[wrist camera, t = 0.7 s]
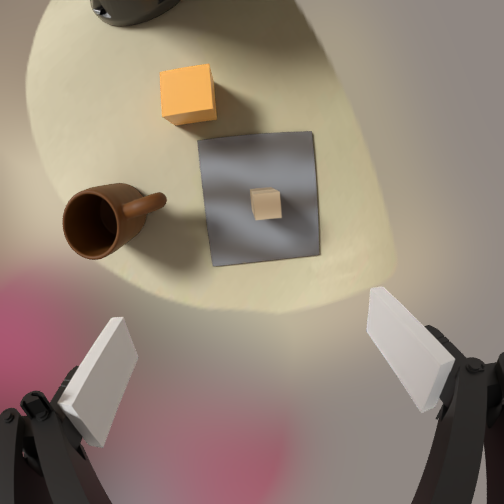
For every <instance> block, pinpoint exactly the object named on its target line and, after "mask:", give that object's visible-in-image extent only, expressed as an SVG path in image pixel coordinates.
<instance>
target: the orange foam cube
mask: <svg viewBox="0 0 504 504" xmlns="http://www.w3.org/2000/svg"><path fill="white" fill-rule="evenodd" d="M160 89H161V106H162V117H163V118H165V119H166V120H168V121H169V122H171V123H172V124H174V125H175V126H177V125H183V124H189V123H196V122H203V121H210V120H217V112H216V101H215V90H214V81H213V77H212V73H211V69H210V65H209V64H203V65H196V66H190V67H184V68H178V69H173V70H168V71H163V72H160Z"/></svg>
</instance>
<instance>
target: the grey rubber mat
mask: <svg viewBox="0 0 504 504" xmlns="http://www.w3.org/2000/svg"><path fill="white" fill-rule="evenodd" d="M197 142H198V152H199V161H200V170H201V179H202V188H203V197H204V205H205V213H206V221H207V228H208V236H209V243H210V250H211V257H212V264H213V266H221V265H230V264H240V263H249V262H258V261H267V260H277V259H286V258H295V257H304V256H312V255H319V230H318V207H317V190H316V175H315V162H314V150H313V139H312V131H304V132H280V133H264V134H251V135H240V136H230V137H221V138H213V139H205V140H198V141H197Z"/></svg>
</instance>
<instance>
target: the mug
mask: <svg viewBox="0 0 504 504" xmlns="http://www.w3.org/2000/svg"><path fill="white" fill-rule="evenodd" d="M166 202H167V199H166V196H165V195H164V194H163V193H160V192H159V193H154V194H151V195H148V196H145V197H142V195H141V194H140V192H139V191H138V190H137V189H135V188H134V187H132V186H130V185H128V184H123V183H116V184H109V185H103V186H97V187H92V188H89V189H86V190H83V191H81V192H79V193H77V194H75V195H74V196H73V197H72V198H71V199H70V201H69V202H68V204H67V205H66V208H65V210H64V214H63V231H64V235H65V237H66V240H67V242H68V244H69V245H70V247H71V248H72V249H73V250H74V251H75V252H76V253H77V254H79V255H80V256H82V257H84V258H87V259H92V260H97V259H102V258H104V257H106V256H108V255H110V254H112V253H113V252H115V251H116V250H118V249H119V248H120V247H122V246H123V245H124V244H126V243H127V242H128V241H129V240H131V239H132V238H133V237H135V236H136V235H137V234H138V233H139V232H140V231H141V229H142V227H143V226H144V223H145V220H146V215H147V214H148V213H151V212H153V211H156V210H159V209H161V208H162V207H164V206H165V204H166Z"/></svg>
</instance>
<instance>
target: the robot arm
mask: <svg viewBox="0 0 504 504" xmlns="http://www.w3.org/2000/svg"><path fill="white" fill-rule="evenodd" d="M179 1H180V0H90V3H91V7H92V9H93V11H94V13H95V14H96V15H97V16H98V17H99V18H100V19H101V20H102V21H103V22H105V23H107V24H110V25H115V26H128V25H134V24H139V23H142V22H145V21H148V20H150V19H153V18H155V17H157V16H159V15H161V14H163V13H164V12H166V11H168V10H169V9H171V8H172V7H173V6H175V5H176V4H177V3H178V2H179ZM366 331H367V333H368V334H369V336H370V337H371V338H372V340H373V341H374V343H375V344H376V346H377V347H378V349H379V350H380V352H381V353H382V354H383V356H384V357H385V359H386V360H387V362H388V363H389V365H390V366H391V368H392V369H393V371H394V372H395V374H396V375H397V377H398V378H399V380H400V381H401V383H402V384H403V386H404V387H405V389H406V390H407V392H408V394H409V395H410V397H411V398H412V400H413V401H414V403H415V405H416V406H417V408H418V409H419V411H420V413H422V412H425V411H427V410H429V409H432V408H434V407H435V406H436V404H437V402H438V400H439V398H440V399H441V400H442V402H443V405H442V407H441V409H440V411H439V413H438V415H437V417H436V419H438V418H439V420H438V424H437V428H436V432H435V436H434V440H433V444H432V447H431V450H430V454H429V457H428V460H427V463H426V466H425V469H424V472H423V475H422V478H421V480H420V483H419V486H418V489H417V491H416V494H415V496H414V498H413V501H412V503H411V504H471V503H472V499H473V495H474V491H475V487H476V483H477V479H478V474H479V469H480V463H481V458H482V451H483V444H484V449H485V459H486V475H487V504H504V352H503V353H502V354H500V356H499V358H498V361H497V362H495V363H490V364H484V362H483V361H481V360H480V359H477V358H466V357H465V356H464V355H463V354H462V353H461V352H460V351H459V350H458V349H457V348H456V347H455V346H454V345H453V344H452V343H451V342H449V340H448V339H447V338H446V337H444V335H443V334H442V333H441V332H440V331H439V330H438V329H436V328H434V327H432V326H430V325H427V326H423V325H422V324H421V323H420V322H419V321H418V320H417V319H416V318H415V317H414V316H413V315H412V314H411V313H410V312H409V311H408V310H407V309H406V308H405V307H404V306H403V305H402V304H401V303H400V302H399V301H398V300H397V299H396V298H395V297H394V296H393V295H392V294H391V293H390V292H388V291H387V290H386V289H385V288H384V287H383V286H381V287H375V288H370V301H369V312H368V321H367V329H366ZM137 360H138V355H137V352H136V350H135V347H134V345H133V342H132V339H131V337H130V334H129V331H128V328H127V325H126V323H125V320H124V317H114V318H111V319H110V321H109V322H108V324H107V325H106V326H105V328H104V329H103V331H102V332H101V334H100V335H99V337H98V338H97V340H96V342H95V343H94V344H93V346H92V347H91V349H90V350H89V352H88V354H87V355H86V357H85V359H84V360H83V362H82V363H81V365H80V366H76V367H74V368H73V369H72V370H71V371H70V372H69V373H68V374H67V376H66V378H65V381H63V382H62V384H61V386H60V387H59V389H58V391H57V392H56V394H55V395H54V397H53V399H52V400H51V402H50V403H49V401H48V400H47V398H46V397H45V395H44V394H43V393H42V392H40V391H32V392H30V393H28V394H26V395H25V396H24V397H23V399H22V401H21V404H20V406H21V407H22V409H23V410H24V412H25V413H26V414H27V416H21V415H20V413H19V412H18V411H17V410H16V409H15V408H8V409H6V410H4V411H3V412H2V413H1V415H0V504H112V503H111V501H110V499H109V498H108V496H107V494H106V492H105V490H104V489H103V487H102V485H101V483H100V481H99V479H98V477H97V475H96V473H95V471H94V469H93V467H92V465H91V463H90V461H89V459H88V456H87V455H86V452H85V450H84V448H83V446H82V445H81V444H80V442H81V440H82V437H83V439H84V440H85V441H86V442H87V443H88V444H89V445H91V446H96V447H102V448H103V447H104V444H105V441H106V438H107V436H108V433H109V430H110V427H111V425H112V422H113V419H114V417H115V414H116V411H117V409H118V406H119V404H120V401H121V399H122V396H123V393H124V391H125V388H126V386H127V383H128V381H129V379H130V376H131V374H132V371H133V369H134V367H135V364H136V362H137ZM22 451H23V452H24V457H23V454H22Z"/></svg>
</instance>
